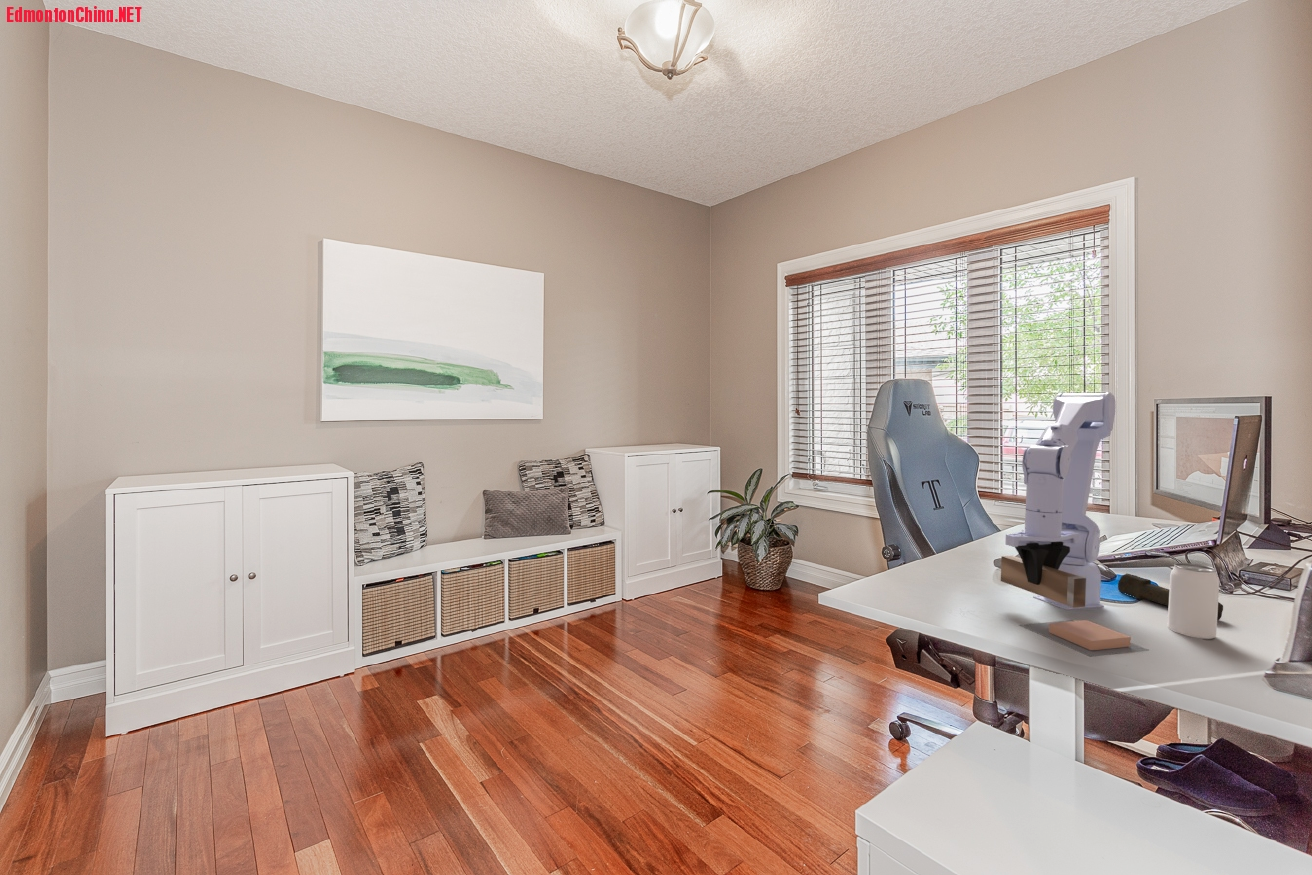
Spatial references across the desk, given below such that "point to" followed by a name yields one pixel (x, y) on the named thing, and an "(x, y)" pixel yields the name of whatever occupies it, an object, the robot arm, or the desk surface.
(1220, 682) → the desk surface
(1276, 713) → the desk surface
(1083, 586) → the wooden plank
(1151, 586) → the hand tool
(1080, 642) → the tile
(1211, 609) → the can
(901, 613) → the desk surface
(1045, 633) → the mat
